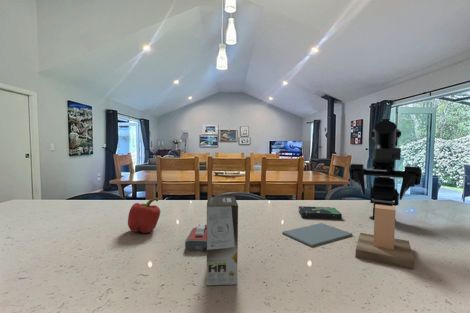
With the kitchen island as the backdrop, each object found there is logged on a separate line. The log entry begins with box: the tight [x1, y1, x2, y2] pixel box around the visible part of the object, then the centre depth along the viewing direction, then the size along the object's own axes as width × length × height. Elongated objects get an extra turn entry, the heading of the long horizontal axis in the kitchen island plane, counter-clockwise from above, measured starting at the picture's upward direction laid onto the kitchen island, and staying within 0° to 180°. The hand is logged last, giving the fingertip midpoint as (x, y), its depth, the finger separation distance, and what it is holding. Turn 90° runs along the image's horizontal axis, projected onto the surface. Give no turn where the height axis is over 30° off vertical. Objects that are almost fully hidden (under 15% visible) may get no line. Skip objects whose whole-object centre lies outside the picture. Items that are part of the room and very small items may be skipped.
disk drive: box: [298, 205, 343, 221], centre depth 101 cm, size 10×3×15 cm
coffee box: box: [206, 196, 239, 286], centre depth 55 cm, size 9×6×16 cm
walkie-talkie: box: [184, 224, 207, 252], centre depth 75 cm, size 9×4×20 cm
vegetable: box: [127, 197, 161, 234], centre depth 82 cm, size 11×10×10 cm
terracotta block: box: [373, 204, 396, 250], centre depth 66 cm, size 4×4×10 cm
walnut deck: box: [355, 232, 415, 270], centre depth 67 cm, size 14×12×2 cm
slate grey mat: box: [281, 222, 353, 248], centre depth 80 cm, size 18×12×1 cm, turn 121°
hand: (381, 197), depth 74 cm, fingers open, 9 cm apart
